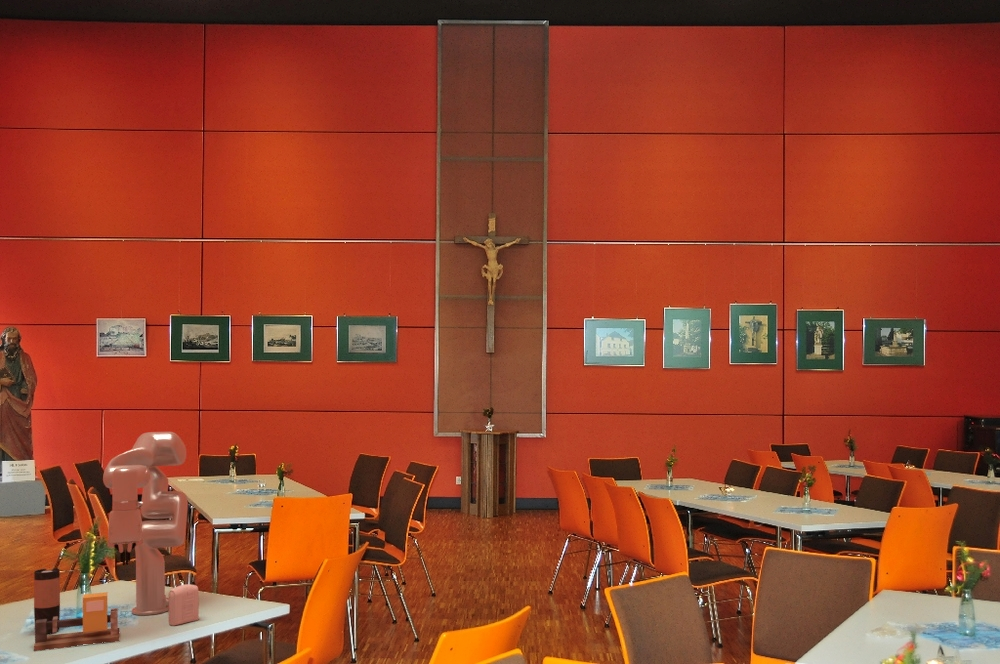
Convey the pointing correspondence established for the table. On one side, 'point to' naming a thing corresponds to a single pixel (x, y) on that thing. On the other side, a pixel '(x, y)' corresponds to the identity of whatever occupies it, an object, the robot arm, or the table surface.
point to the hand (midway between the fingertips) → (125, 564)
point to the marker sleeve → (95, 612)
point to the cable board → (75, 638)
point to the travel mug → (47, 595)
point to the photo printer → (183, 604)
